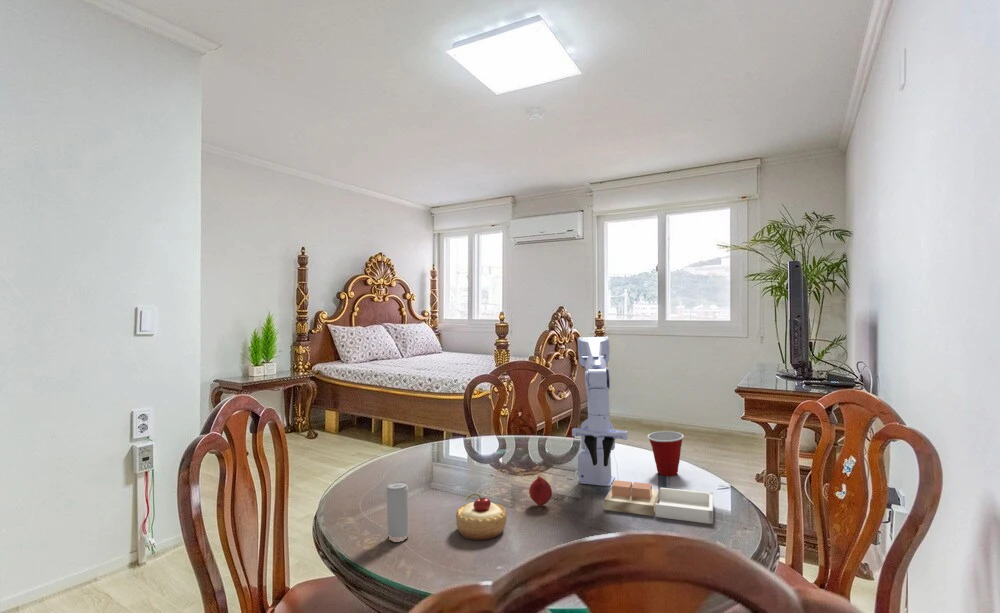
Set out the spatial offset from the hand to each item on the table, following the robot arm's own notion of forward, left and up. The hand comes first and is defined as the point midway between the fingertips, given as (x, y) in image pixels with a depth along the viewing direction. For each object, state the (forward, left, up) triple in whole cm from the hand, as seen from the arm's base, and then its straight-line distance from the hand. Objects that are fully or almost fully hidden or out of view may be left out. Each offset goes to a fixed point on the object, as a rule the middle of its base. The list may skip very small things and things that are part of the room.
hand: (600, 464), depth 129 cm
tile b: (+11, 0, -7) cm, 13 cm away
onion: (-14, -9, -10) cm, 19 cm away
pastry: (-22, -28, -10) cm, 37 cm away
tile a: (+6, 0, -7) cm, 9 cm away
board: (+8, 0, -9) cm, 12 cm away
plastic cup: (+14, +29, -10) cm, 34 cm away
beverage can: (-38, -38, -10) cm, 55 cm away
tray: (+20, 0, -9) cm, 22 cm away
